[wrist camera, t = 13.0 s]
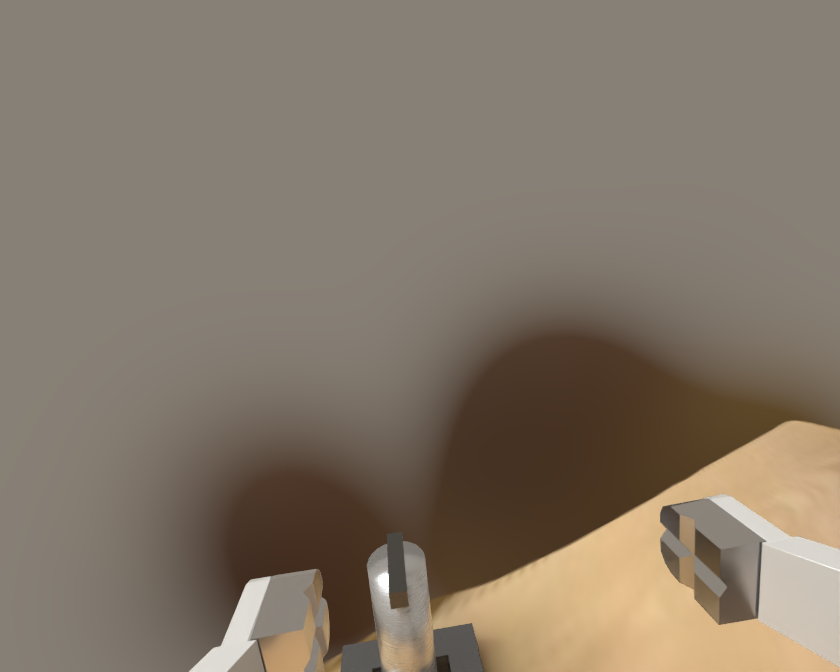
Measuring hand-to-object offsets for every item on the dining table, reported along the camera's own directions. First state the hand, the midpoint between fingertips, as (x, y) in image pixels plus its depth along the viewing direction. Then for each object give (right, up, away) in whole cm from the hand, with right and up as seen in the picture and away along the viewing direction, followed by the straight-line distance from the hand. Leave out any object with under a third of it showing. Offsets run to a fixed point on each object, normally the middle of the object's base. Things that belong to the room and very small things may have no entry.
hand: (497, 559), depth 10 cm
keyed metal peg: (-2, -21, +18) cm, 28 cm away
